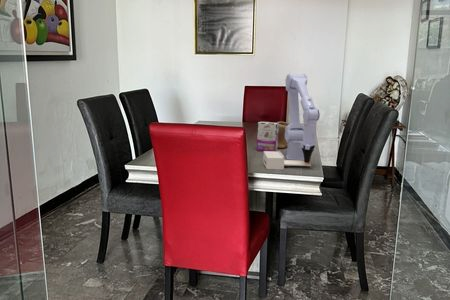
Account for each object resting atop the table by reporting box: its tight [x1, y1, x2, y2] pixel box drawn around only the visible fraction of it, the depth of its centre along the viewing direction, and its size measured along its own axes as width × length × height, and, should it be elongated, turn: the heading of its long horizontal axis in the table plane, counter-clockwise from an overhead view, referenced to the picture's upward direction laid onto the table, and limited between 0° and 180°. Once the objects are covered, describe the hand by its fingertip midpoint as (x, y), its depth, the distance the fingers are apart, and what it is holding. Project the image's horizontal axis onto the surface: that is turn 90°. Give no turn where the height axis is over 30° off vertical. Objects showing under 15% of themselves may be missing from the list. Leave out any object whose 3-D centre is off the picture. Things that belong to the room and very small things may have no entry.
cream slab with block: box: [284, 156, 312, 167], centre depth 195 cm, size 14×8×5 cm, turn 92°
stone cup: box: [276, 121, 291, 149], centre depth 238 cm, size 15×12×15 cm
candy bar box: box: [256, 121, 279, 152], centre depth 225 cm, size 11×5×16 cm, turn 69°
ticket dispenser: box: [262, 150, 286, 171], centre depth 195 cm, size 8×14×6 cm, turn 2°
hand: (307, 161), depth 196 cm, fingers closed on cream slab with block, 5 cm apart
